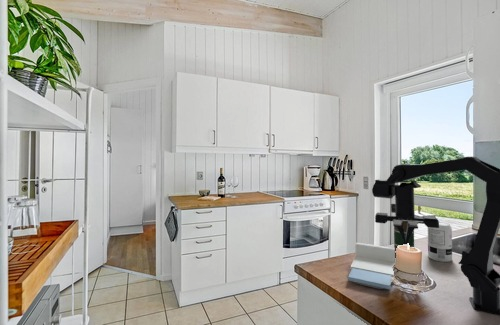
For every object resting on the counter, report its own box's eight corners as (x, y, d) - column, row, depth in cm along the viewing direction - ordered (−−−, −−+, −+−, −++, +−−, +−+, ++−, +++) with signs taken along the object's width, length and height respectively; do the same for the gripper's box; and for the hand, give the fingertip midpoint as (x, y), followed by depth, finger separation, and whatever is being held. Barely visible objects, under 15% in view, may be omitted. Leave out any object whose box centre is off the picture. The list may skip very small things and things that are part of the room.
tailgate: (391, 281, 86) (390, 292, 79) (352, 273, 93) (348, 283, 86) (391, 275, 86) (390, 285, 79) (352, 268, 93) (348, 276, 86)
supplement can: (424, 254, 111) (423, 221, 111) (444, 255, 110) (443, 221, 110) (435, 262, 103) (434, 225, 103) (457, 263, 102) (456, 226, 102)
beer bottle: (416, 254, 112) (415, 200, 112) (412, 259, 106) (411, 203, 106) (396, 250, 117) (395, 199, 117) (392, 255, 111) (391, 201, 111)
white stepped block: (393, 283, 86) (393, 260, 86) (350, 274, 93) (350, 253, 93) (395, 268, 98) (394, 248, 98) (356, 261, 105) (356, 242, 105)
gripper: (433, 198, 91) (434, 241, 91) (376, 195, 100) (377, 234, 100) (438, 202, 81) (439, 250, 81) (374, 199, 90) (375, 242, 90)
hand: (405, 244), depth 88 cm, fingers closed
